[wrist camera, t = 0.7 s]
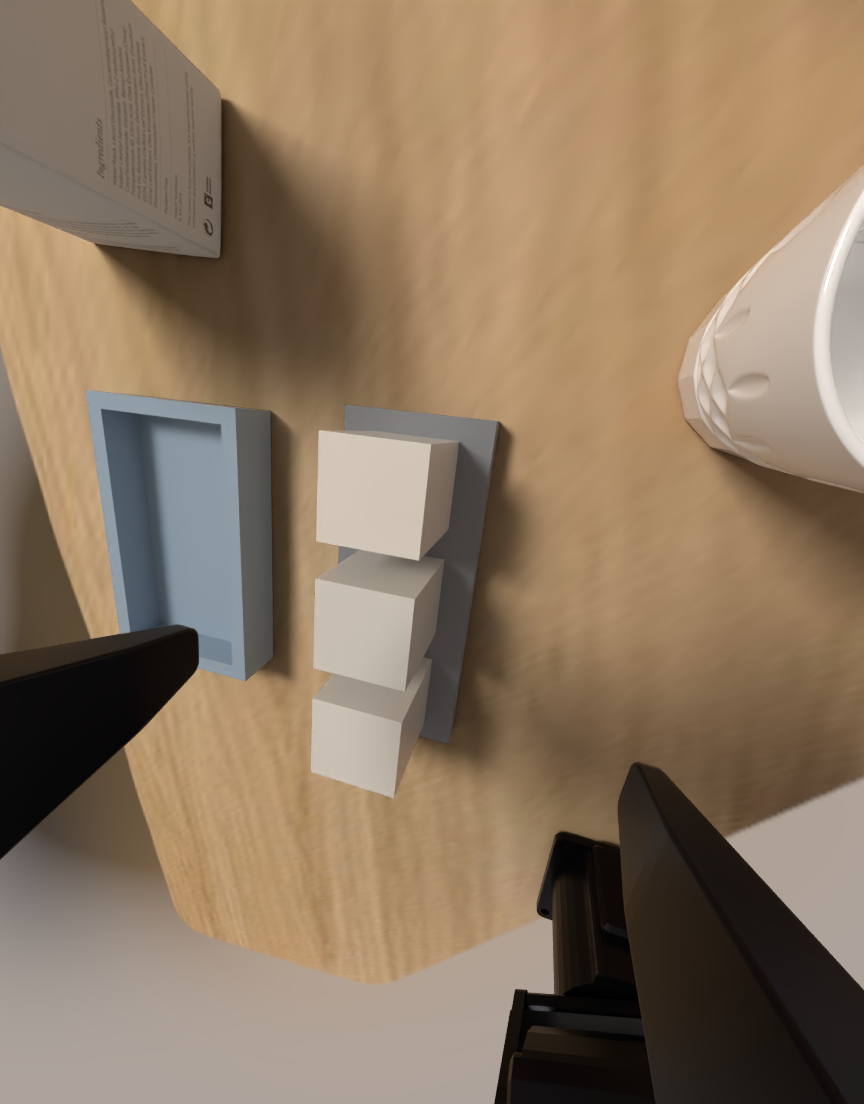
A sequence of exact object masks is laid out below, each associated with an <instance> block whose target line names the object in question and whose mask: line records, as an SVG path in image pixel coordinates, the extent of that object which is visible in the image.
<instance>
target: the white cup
mask: <svg viewBox="0 0 864 1104" xmlns="http://www.w3.org/2000/svg"><path fill="white" fill-rule="evenodd" d="M678 387H679V392H680V397H681V402H682V407H683V412H684V417H685V419H686V421H687V422H688V423H689V424H690V425H691V426H692V427H693V428H694V430H695V431H696V432H697V433H698V434H699V435H700V436H701V437H702V439H703V440H704V441H705V442H706V443H707V444H708V445H709V446H710V447H712V448H715V449H718V450H721V451H723V452H726V453H729V454H732V455H735V456H737V457H740V458H743V459H746V460H749V461H751V462H753V463H755V464H757V465H760V466H763V467H767V468H770V469H774V470H777V471H781V472H784V473H788V474H791V475H795V476H799V477H802V478H805V479H807V480H811V481H814V482H818V483H822V484H826V485H831V486H835V487H839V488H843V489H847V490H851V491H855V492H859V493H863V494H864V164H863V165H862V166H861V167H860V168H858V169H857V170H856V171H855V172H854V173H853V174H852V175H851V176H850V177H848V178H847V179H846V180H845V181H844V182H843V183H842V184H841V185H840V186H839V187H837V188H836V189H835V190H834V191H833V192H832V193H831V194H830V195H829V196H828V197H826V198H825V199H824V200H823V201H822V202H821V203H820V204H819V205H818V206H816V207H815V208H814V209H813V210H812V211H811V212H810V213H809V214H808V215H807V216H805V217H804V218H803V219H802V220H801V221H800V222H799V223H798V224H797V225H796V226H794V227H793V228H792V229H791V230H790V231H789V232H788V233H787V234H786V235H785V236H784V237H783V238H782V239H781V240H780V241H779V242H778V243H777V244H776V245H775V246H774V247H773V248H772V249H771V250H770V251H769V252H768V253H767V254H766V255H765V256H763V257H762V258H761V259H760V260H759V261H758V262H757V263H756V264H755V265H754V266H753V267H752V268H751V269H750V270H749V271H748V272H747V273H746V274H745V275H744V276H743V277H742V278H741V279H740V280H739V281H738V282H737V284H736V285H735V286H734V287H733V288H732V289H731V290H730V291H729V292H728V293H726V294H725V295H724V296H723V297H722V298H721V299H720V300H719V301H718V302H717V304H716V305H715V306H714V308H713V309H712V310H711V311H710V313H709V314H708V315H707V317H706V318H705V319H704V320H703V322H702V323H701V324H700V326H699V327H698V328H697V329H696V331H695V332H694V333H693V334H692V336H691V337H690V338H689V341H688V345H687V348H686V352H685V355H684V359H683V363H682V366H681V370H680V373H679V377H678Z"/></svg>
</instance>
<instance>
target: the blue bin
mask: <svg viewBox="0 0 864 1104" xmlns="http://www.w3.org/2000/svg"><path fill="white" fill-rule="evenodd" d="M86 396H87V403H88V410H89V417H90V424H91V432H92V439H93V446H94V453H95V460H96V467H97V474H98V481H99V488H100V495H101V502H102V510H103V517H104V524H105V531H106V538H107V545H108V552H109V559H110V566H111V573H112V580H113V588H114V595H115V602H116V609H117V616H118V623H119V630H120V634H123V633H129V632H135V631H141V630H146V629H152V628H158V627H164V626H170V625H176V624H180V625H184V626H187V627H191V628H194V629H195V630H196V631H197V632H198V635H199V665H198V668H199V669H203V670H206V671H210V672H214V673H217V674H221V675H225V676H228V677H232V678H235V679H239V680H243V681H246V680H247V679H249V678H250V677H251V676H252V675H253V674H254V673H256V672H257V671H258V670H259V669H260V668H262V667H263V666H264V665H265V664H266V663H268V662H269V661H270V660H271V659H272V658H273V584H272V497H271V411H266V410H258V409H250V408H241V407H233V406H225V405H216V404H208V403H200V402H191V401H183V400H175V399H166V398H158V397H149V396H141V395H132V394H122V393H111V392H101V391H90V390H86Z"/></svg>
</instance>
